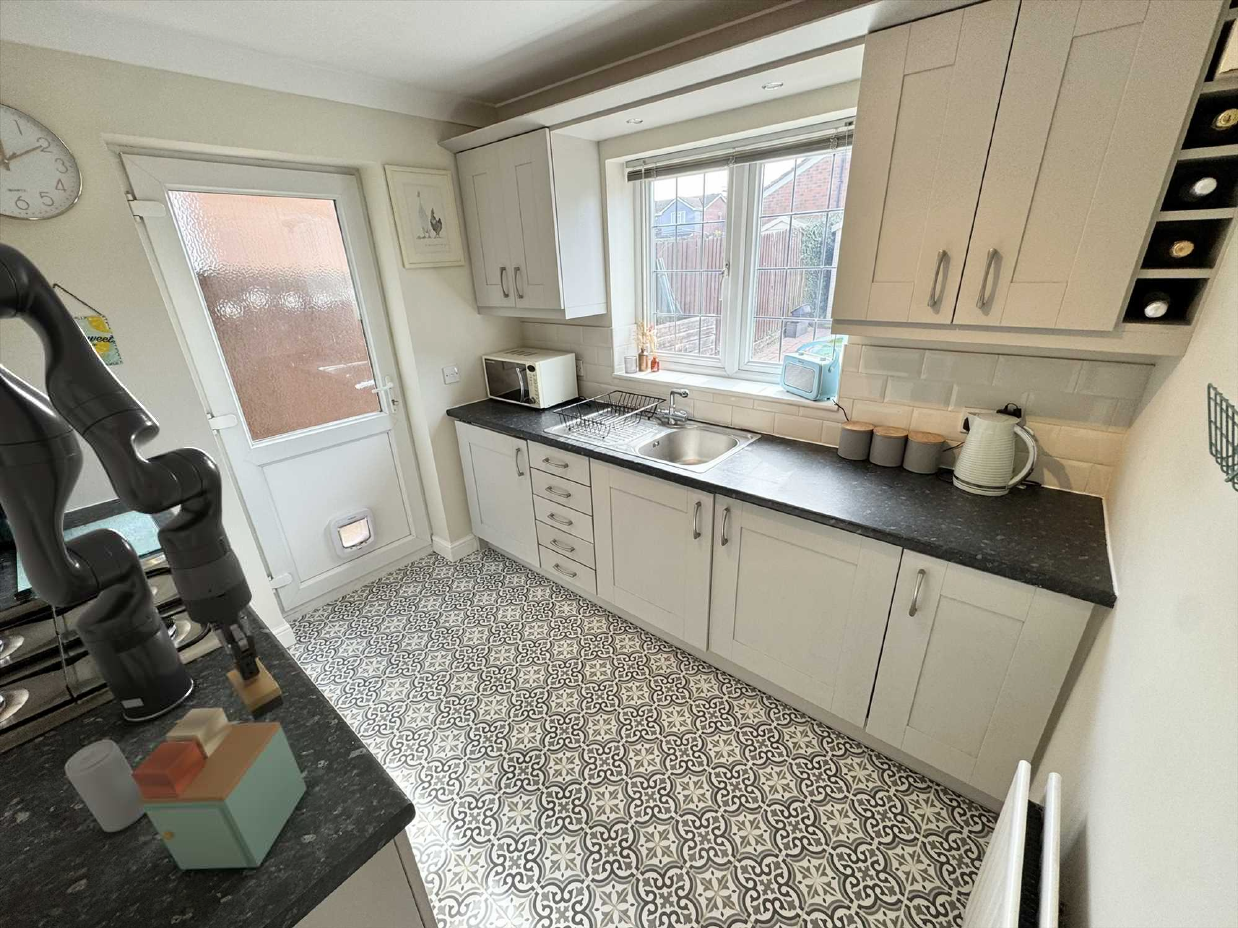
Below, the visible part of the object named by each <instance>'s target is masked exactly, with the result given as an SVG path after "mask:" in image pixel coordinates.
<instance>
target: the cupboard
mask: <svg viewBox="0 0 1238 928" xmlns="http://www.w3.org/2000/svg"><path fill="white" fill-rule="evenodd" d="M229 724H230V727H231V729H232V731H231V732H230V733H229V734H228V735H227V737H226V738H225V739H224V740H223V741H222V742H221V744H220V745H219V746H218V747H217V748H216V749H215V751H214V752H213V753H212V754H211V755H210V756H209V758H203V759H204V761H205V763H206V765H205V767H204V768H203V769H202V770H201V771H200V773H199V774H198V775H197V776H196V777H195V778H194V780H193V781H192V782H191V783H190V784H189V785H188V787H187V788H186V789H185V790H184V791H183V793H182V794H181V795H180V796H179V797H160V798H145V796H144V795H142V796H141V797H140V798H139V799H138V800H139V802H140V804H141V805H142V807H143V809H144V810H145V814H146V815H147V817H148V819H149V820H150V822H151V823H152V825H153V827H154V829H155V830H156V832H157V833H158V836H159V837H160V838H161V840H162V841H163V843H164V845H165V847H166V848H167V850H168V851H169V853H170V854H171V856H172V858H173V859H174V861H175V863H176V864H177V866H178V867H179V869H180V870H203V869H205V870H206V869H207V870H208V869H238V868H259V867H260V866H261V863H262V862H263V860H264V859H265V858H266V855H267V854H268V853H269V851H270V849H271V847H272V846H273V844H274V842H275V841H276V839H277V838H278V836H279V835H280V833H281V831H282V830H283V828H284V826H285V825H286V823H287V821H288V820H289V818H290V817H291V815H292V813H293V811H294V810H295V808H296V807H297V805H298V804H299V802H300V801H301V799H302V797H303V796H304V793H305V792H306V790H307V788H308V787H307V785H306V783H305V781H304V780H305V779H304V778H303V775H302V773H301V771H300V769H299V766H298V764H297V762H296V758H295V756H294V753H293V751H292V749H291V747H290V745H289V742H288V739H287V737H286V734H285V732H284V730H283V727H282V725H281V722H280V721H275V722H274V721H273V722H248V723H229Z"/></svg>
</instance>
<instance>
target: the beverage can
mask: <svg viewBox="0 0 1238 928" xmlns="http://www.w3.org/2000/svg"><path fill="white" fill-rule="evenodd" d="M64 771H65V775H66V777H67V778H68V780H69V781H70V782H71V784H72V786H73V787H74V788H75V790H76V792H77V793H78V794H79V796H80V797H81V799H82V800H83V802H84V804H85V805H86V806H87V808H88V809H89V810H90V813H91V814H92V816H93V817H94V818H95V819H96V822H98V824H99V826H100V827H101V829H102V830H103V831H104V832H106V833H115V832H120V831H122V830H124V829H127V828H128V827H130V826H132V825H133V824H134V823H137V821H138V820H139V819H140V818H142V817H143V815H144V814H146V812H145V810H144V809H143V807H142V805H141V804H140V802H139V800H138V799H139V798H140V797H141V796H142V795H143V793H142V791H141V790H140V788H139V786H138V785H137V783H136V781H135V780H134V778H133V776H132V773H133V772H134V771H133V769H132V767H131V765H130V764H129V763H128V761H127V759H126V758H125V755H124V753H122V750H121V748H120V746H118V744H117V743H116V742H115V741H113V740H112V739H102V740H98V741H95V742H93V743H90V744H89V745H87V746H84V747H83V748H82V749H79V750H78V751H77V752H76V753H74V754H73V755H72V756H71V757H70V758H69V759H67V761H66V763H65V765H64Z"/></svg>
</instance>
